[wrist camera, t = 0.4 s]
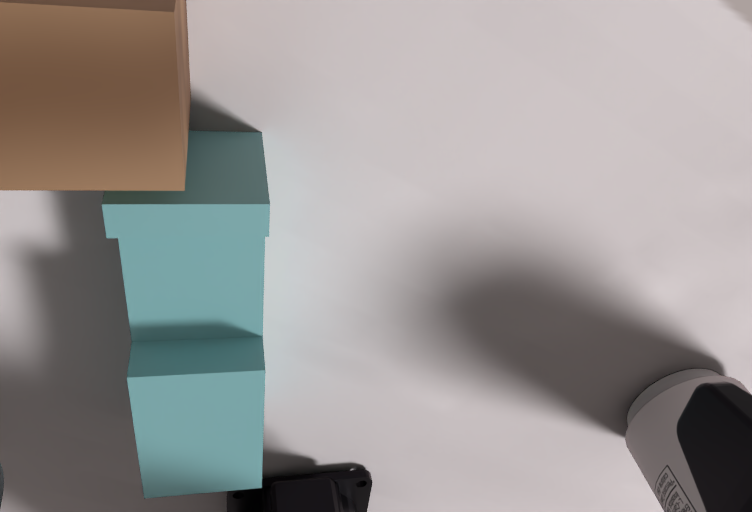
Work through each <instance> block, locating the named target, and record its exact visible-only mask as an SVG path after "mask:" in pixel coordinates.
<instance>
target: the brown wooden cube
mask: <svg viewBox="0 0 752 512" xmlns="http://www.w3.org/2000/svg"><path fill="white" fill-rule="evenodd" d="M190 103H191V92H190V71H189V50H188V29H187V9H186V0H0V190H108V191H185V178H186V163H187V148H188V133H189V118H190Z"/></svg>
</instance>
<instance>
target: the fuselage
mask: <svg viewBox="0 0 752 512" xmlns="http://www.w3.org/2000/svg"><path fill="white" fill-rule="evenodd" d="M102 211H103V218H104V225H105V231H106V238H118V242H119V250H120V257H121V265H122V273H123V280H124V288H125V295H126V303H127V310H128V318H129V325H130V333H131V340H132V343H131V350H130V358H129V365H128V372H127V383H128V390H129V397H130V404H131V411H132V418H133V425H134V432H135V439H136V445H137V452H138V459H139V466H140V473H141V480H142V487H143V494H144V499H145V498H156V497H167V496H178V495H189V494H200V493H211V492H222V491H233V490H245V489H256V488H262V463H263V427H264V392H265V362H264V349H263V295H264V254H265V237H269V215H270V201H269V193H268V184H267V175H266V166H265V157H264V148H263V140H262V132H227V131H189V133H188V148H187V163H186V178H185V191H108V190H105V192H104V197H103V201H102Z"/></svg>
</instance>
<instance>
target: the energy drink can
mask: <svg viewBox="0 0 752 512" xmlns="http://www.w3.org/2000/svg"><path fill="white" fill-rule="evenodd" d="M720 381H725V382H730V383H733V384H735V385H736V386H738V387H740V388H741V389H743V390H745V391H746V392H748V393H749V394H750V392H749V391H748V390H747V389H746V388H745V386H744V385H743V384H742V383H741V382H740V381H738V380H736V379H734V378H731V377H727V376H720V375H719V374H718V373H716V372H714V371H712V370H708V369H688V370H684V371H680V372H676V373H674V374H671V375H668V376H666V377H664V378H662V379H660V380H658V381H657V382H655V383H654V384H652V385H651V386H649V387H648V388H647V389H645V390H644V391H643V392H642V393H641V394H640V395H639V396H638V397H637V398H636V399H635V401H634V402H633V404H632V405H631V407H630V409H629V412H628V415H627V423H628V429H627V432H626V439H625V440H626V445H627V447H628V449H629V451H630V453H631V454H632V456H633V458H634V459H635V461H636V463H637V465H638V466H639V468H640V470H641V472H642V473H643V475H644V477H645V479H646V480H647V482H648V484H649V486H650V487H651V489H652V491H653V492H654V494H655V496H656V498H657V499H658V501H659V503H660V505H661V506H662V508H663V510H664V512H706V510H705V507H704V505H703V502H702V500H701V497H700V494H699V492H698V489H697V487H696V484H695V482H694V479H693V477H692V474H691V472H690V469H689V466H688V464H687V461H686V459H685V456H684V454H683V451H682V449H681V446H680V443H679V441H678V438H677V432H676V426H677V421H678V419H679V417H680V415H681V413H682V412H683V410H684V408H685V406H686V404H687V402H688V401H689V399H690V397H691V395H692V393H693V391H694V390H695V388H696V387H697V386H698V385H700V384H701V383H705V382H720Z"/></svg>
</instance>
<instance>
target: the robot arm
mask: <svg viewBox="0 0 752 512" xmlns="http://www.w3.org/2000/svg"><path fill="white" fill-rule="evenodd" d="M676 432H677V438H678V441H679V443H680V446H681V449H682V451H683V454H684V456H685V459H686V461H687V464H688V466H689V469H690V472H691V474H692V477H693V479H694V482H695V484H696V487H697V489H698V492H699V494H700V497H701V500H702V502H703V505H704V507H705V510H706V512H752V395H751V394H749V393H748V392H746V391H745V390H743V389H741V388H740V387H738V386H736V385H735V384H733V383H730V382H725V381H720V382H705V383H701V384H700V385H698V386H697V387H696V388H695V390H694V391H693V393H692V395H691V397H690V399H689V401H688V402H687V404H686V406H685V408H684V410H683V412H682V413H681V415H680V417H679V419H678V421H677V426H676ZM3 487H4V477H3V470H2V467H1V464H0V507H1V502H2V496H3ZM371 487H372V479H371V474H370V472H369V471H367V470H354V471H343V472H331V473H320V474H308V475H297V476H286V477H274V478H263V479H262V488H256V489H245V490H233V491H227V512H367V508H368V503H369V497H370V492H371Z"/></svg>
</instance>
